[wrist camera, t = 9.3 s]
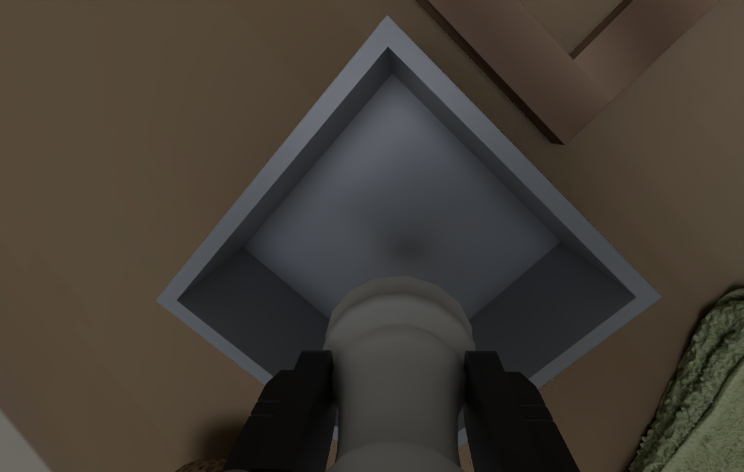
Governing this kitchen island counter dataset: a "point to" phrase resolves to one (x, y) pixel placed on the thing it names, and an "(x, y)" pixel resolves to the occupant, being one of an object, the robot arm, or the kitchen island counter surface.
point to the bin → (404, 230)
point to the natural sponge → (204, 466)
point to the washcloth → (703, 401)
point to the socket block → (564, 54)
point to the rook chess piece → (398, 376)
